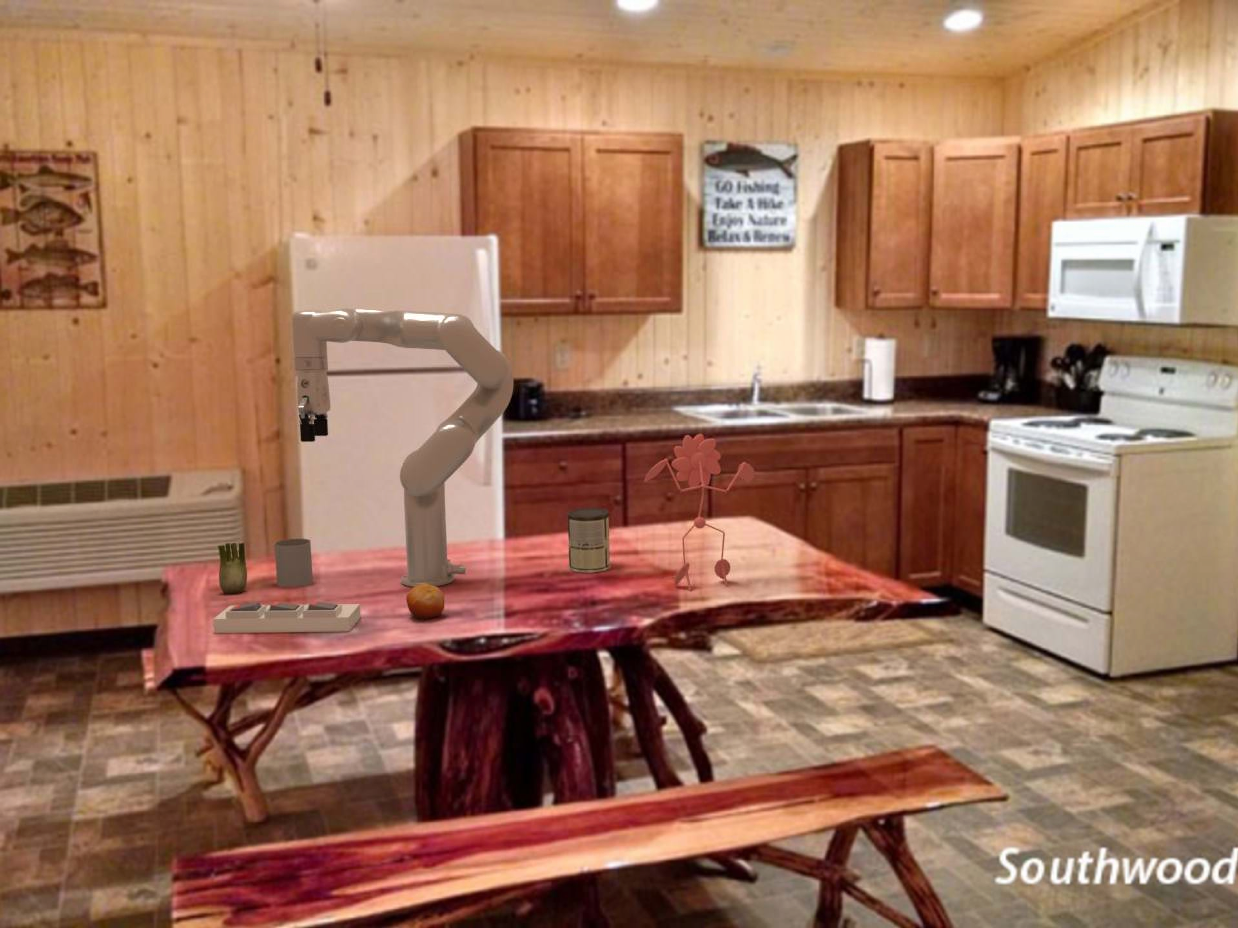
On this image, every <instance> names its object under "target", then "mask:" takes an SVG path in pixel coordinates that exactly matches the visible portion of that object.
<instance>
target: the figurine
mask: <svg viewBox="0 0 1238 928" xmlns="http://www.w3.org/2000/svg"><path fill="white" fill-rule="evenodd" d="M683 437H684V438H683V441H682V446H680V445H676V446H675V447H674V451H673V452H674V455H675V457H676V459H673V461H672V462H671V465H670V463H669V459H668V458H664V459H663V460H660V461H659V462H658V463H656V464H655V465H654V466H652V468H651V469H650V470H649V471H648V472H647V474H646V475H645V478H644V480H643V481H644V483H646V482H648V481H650V480H652V479H654V478H655V477H656V476H657V475H658V474H659V473H661V472H662V470H663V469H664V468H665V466H667V468H668V470H669V472H670V474H671V476H672V478H673V482H675V485H676V487H677V489H678V491H679V493H683V492H687V491H692V490H696V489H701V497H700V498H701V499H700V503H699V505H700V506H699V511H698V515H697V517H696V518H695V519H694V520H693V525H692V526H691V527H690V528H689V530H687V531H686V533H685V534H684V535H683V537H682V555H683V556H682V557H683V558H682V559H683V565H682V566H681V567H680V569H679V570H678V571H677V573H676V574H675V575H673V576H668V577H662V578H660V579H659V580H656V582H654V584H656V583H658V582H660V581H662V580H665V579H670V578H674V582H673V583H674V586H678V584H679V583H680V582H681V581H682V580H683V579H684V578H685V577H686V581H687V588H688V591H689V592H690V591H691V592H692V585H691V581H690V576H691V575H693V573H689V569H690V566H691V565H690V563H689V562H686V552H685V538H686V537H687V536H688V534H689V533H690V532H691V531H692V530H693V528H694V527H695V528H696V529H703V528H705V527H706V526H707V527H709V528H711V529H713V530H715V531H718V532H720V533H722V544H721V557H720V558H721V559H719V560H717V561H716V563H715V565H714V567H713V568H714V570H713V571H714V573H715V575H716V577H719V578H720V579H721V580H723V581H724V585H725V587H729V584H728V580H727V576H728V575H729V574H730V571H731V564H730V562H729V561H728V560H727V559H724V547H725V536H726V533H725V531H723V530H721V529H720V528H716V527H714V526H712V525H710V524H708V523H707V521H706V520H705V518H704V517H703V516H701V514H702V509H703V504H704V500H705V499H704V498H705V489H710V490H713V491H717V492H722V493H726V494H727V493H728V492H729V491H730V490H731V488H732V486H733V485H734V483H735V481H736V480H737V478H738V477H740V478H741V479H742V480H744V482H747V483H750V482H751V481H752V480H753V479H754V477H755V470H754V467H752V466H751V464H750V463H747V462H746V461H743V462H742V463H740V464H739V465H738V468H737V472H736V474H735V476H734V477H733V478H732V480H731V482H730V483H729V485H728V486H727V488H726V489H722V488H718V487H715V486H713V487H712V486H709V484H710V482H711V481H710V480H711V476H712V475H719V474H720V473H721V470H722V468H721V465H720V463H719V462H718V461H719V460H720V459H721V457H722V456H721V453H720V452H718V451H717V450H715V448H716V445H717V439H714V438H713V437H712V438H711V437H710V438H707V439H705V438H704V434H702V433H699V434H696V435H695V436H694V438H692V436H691V435H689V434H687V435H684V436H683ZM671 466H672V467H673V469H675V470H676V471H678V472H677V473H676V475H675V473H674V471H673V469H672V467H671ZM678 481H679V482H685V481H688V482H687V483H688V487H687V488H683V489H682V488H681V485H680V484H679V482H678ZM700 483H701V485H699V484H700ZM706 574H707V573H703V575H706ZM750 584H752V582H750Z"/></svg>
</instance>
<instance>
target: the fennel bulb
mask: <svg viewBox="0 0 1238 928" xmlns="http://www.w3.org/2000/svg"><path fill="white" fill-rule="evenodd" d="M217 547H218V554H219V570H218V571H219V573H218V579H219V581H218V582H219V587H220V590H221V591H222V592H224V593H225V594H237V593H241V592H243V591H245V589H246V587H247V583H248V582H247V581H248V570H247V569H248V568H247V563H246V552H245V550H246V549H245V542H244V541H243V542H239V543H238V547H237V542H231V543H230V542H226V543H225V544H224V543H223V544H222V543H221V544H218V545H217Z"/></svg>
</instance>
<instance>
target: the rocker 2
mask: <svg viewBox="0 0 1238 928" xmlns="http://www.w3.org/2000/svg"><path fill="white" fill-rule="evenodd" d="M337 604H338V603H329V602H323V601H317V600H312V601H311V602H310V603H309V604H308V605H309V607H308V610H334V609H335V608H336V606H337Z"/></svg>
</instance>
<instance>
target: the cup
mask: <svg viewBox="0 0 1238 928" xmlns="http://www.w3.org/2000/svg"><path fill="white" fill-rule="evenodd" d="M311 545H312V544H311V540H310V539H308V538H288V539H283V540H278V541H276V542H274V557H275V558H274V559H275V573H276V586H277V585H278V586H277V587H280V588H284V587H286V588H288V589H290V588H289V587H295V588H302V587H305V586H306V585H307V586H309V585H311V583H312V584H314V579H313V576H314V575H313V564H312V563H313V561H312V547H311Z"/></svg>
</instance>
